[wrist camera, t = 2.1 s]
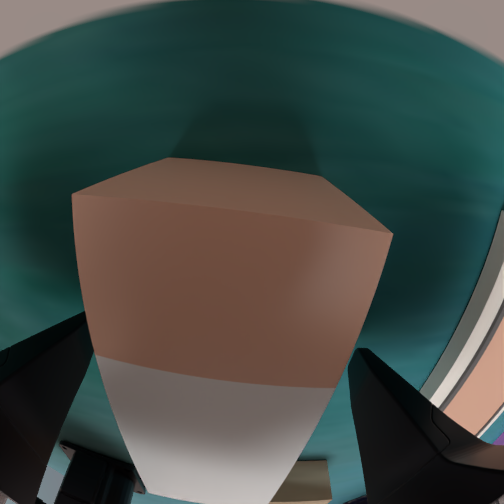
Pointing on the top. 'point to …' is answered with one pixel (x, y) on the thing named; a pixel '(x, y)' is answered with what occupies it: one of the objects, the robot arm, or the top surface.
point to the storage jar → (358, 500)
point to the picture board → (475, 352)
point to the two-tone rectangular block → (222, 316)
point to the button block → (305, 484)
